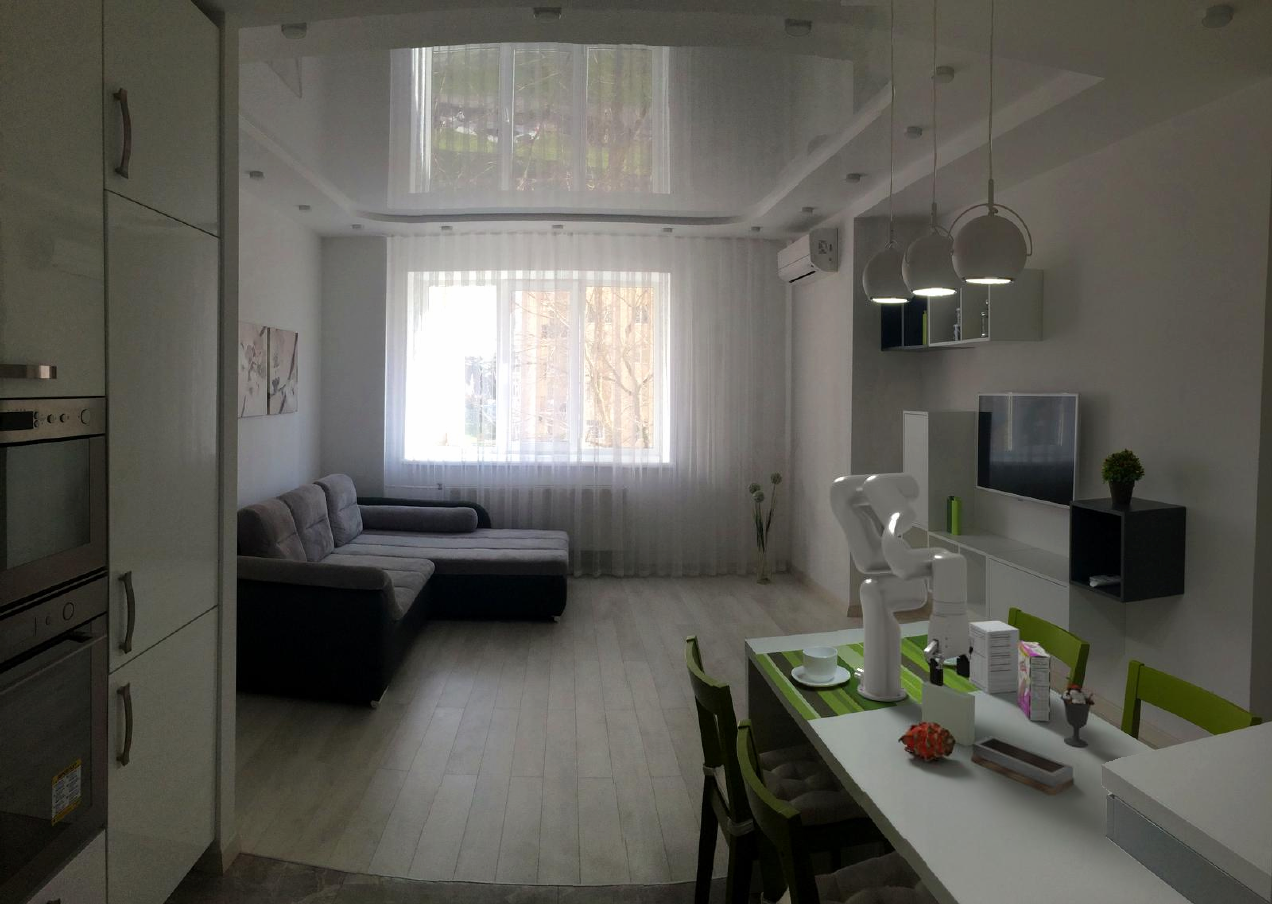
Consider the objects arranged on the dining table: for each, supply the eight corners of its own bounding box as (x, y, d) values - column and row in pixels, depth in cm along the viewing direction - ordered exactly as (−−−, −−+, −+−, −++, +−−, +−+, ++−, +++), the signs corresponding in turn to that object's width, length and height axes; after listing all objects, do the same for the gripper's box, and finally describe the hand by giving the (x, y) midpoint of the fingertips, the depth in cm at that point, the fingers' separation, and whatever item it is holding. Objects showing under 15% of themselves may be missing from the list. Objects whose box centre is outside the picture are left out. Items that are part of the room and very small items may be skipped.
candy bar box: (1016, 703, 205) (1017, 640, 204) (1037, 704, 204) (1038, 641, 203) (1028, 721, 194) (1029, 655, 193) (1050, 722, 193) (1052, 656, 192)
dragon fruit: (960, 769, 174) (902, 771, 177) (954, 734, 180) (898, 736, 184) (958, 748, 169) (898, 750, 172) (951, 712, 175) (894, 715, 178)
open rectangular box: (970, 760, 174) (971, 744, 174) (993, 751, 179) (993, 735, 178) (1051, 794, 159) (1052, 776, 159) (1073, 783, 163) (1074, 766, 163)
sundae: (1052, 737, 185) (1054, 673, 184) (1080, 735, 186) (1082, 672, 184) (1070, 749, 178) (1072, 684, 177) (1099, 748, 179) (1101, 682, 178)
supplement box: (1020, 692, 213) (1021, 629, 211) (988, 694, 211) (988, 631, 210) (998, 679, 222) (999, 619, 221) (967, 681, 221) (968, 621, 219)
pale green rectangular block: (921, 728, 192) (922, 683, 191) (929, 725, 193) (930, 680, 192) (966, 746, 181) (966, 698, 181) (974, 742, 183) (975, 696, 182)
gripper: (958, 598, 193) (959, 669, 193) (911, 609, 183) (912, 683, 184) (987, 604, 186) (987, 677, 187) (939, 616, 177) (940, 692, 178)
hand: (950, 680), depth 186 cm, fingers open, 9 cm apart
